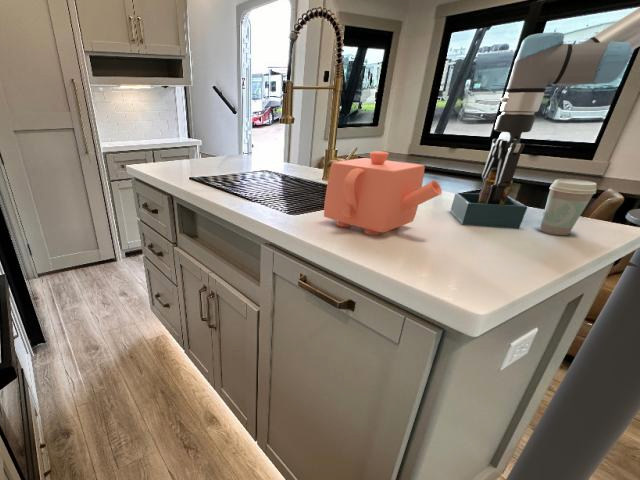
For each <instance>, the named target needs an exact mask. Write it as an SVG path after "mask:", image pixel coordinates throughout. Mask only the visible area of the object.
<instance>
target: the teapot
mask: <svg viewBox="0 0 640 480" xmlns="http://www.w3.org/2000/svg"><path fill="white" fill-rule="evenodd" d="M389 154H390V153H389V152H387V151H379V150H377V151H370V152H369V157H361V158H360V157H359V158H353V159H346V160H345V159H344V160H340V161H333V162H332V163H331V164H330V168H329V174H328V179H327V184H326V185H327V186H326V190H325V198H324V206H323V217H324V218H327V219H329V220H334V221H337V223H336V224H335V225H336V226H338V227H343V228H344V227H345V228H348V227H350V226H354V227H359V228H363V229H364V234H367V235H368V236H369V235H370V236H377V235H380V233H385V232H389V231H391V230H395V229H397V228H399V227H403V226H405V225H408V224H410V223H413V222H414V220H415V217H416V214H417V211H418V208H419V207H418V206H420V205H421V204H423V203H426V202H427V201H429V200H432V199H434V198H436V197H438V196H440V195H441V194H442V187H441V185H440V184H439V183H438V182H437V181H436V180H432V181H430V182H428V183H427V184H425V185H423V181H424V176H425V169H426V166H425V164H420V163H419V164H418V163H414V162H413V163H411V162H404V161H395V160H388V159H387V158H388V157H389Z"/></svg>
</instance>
